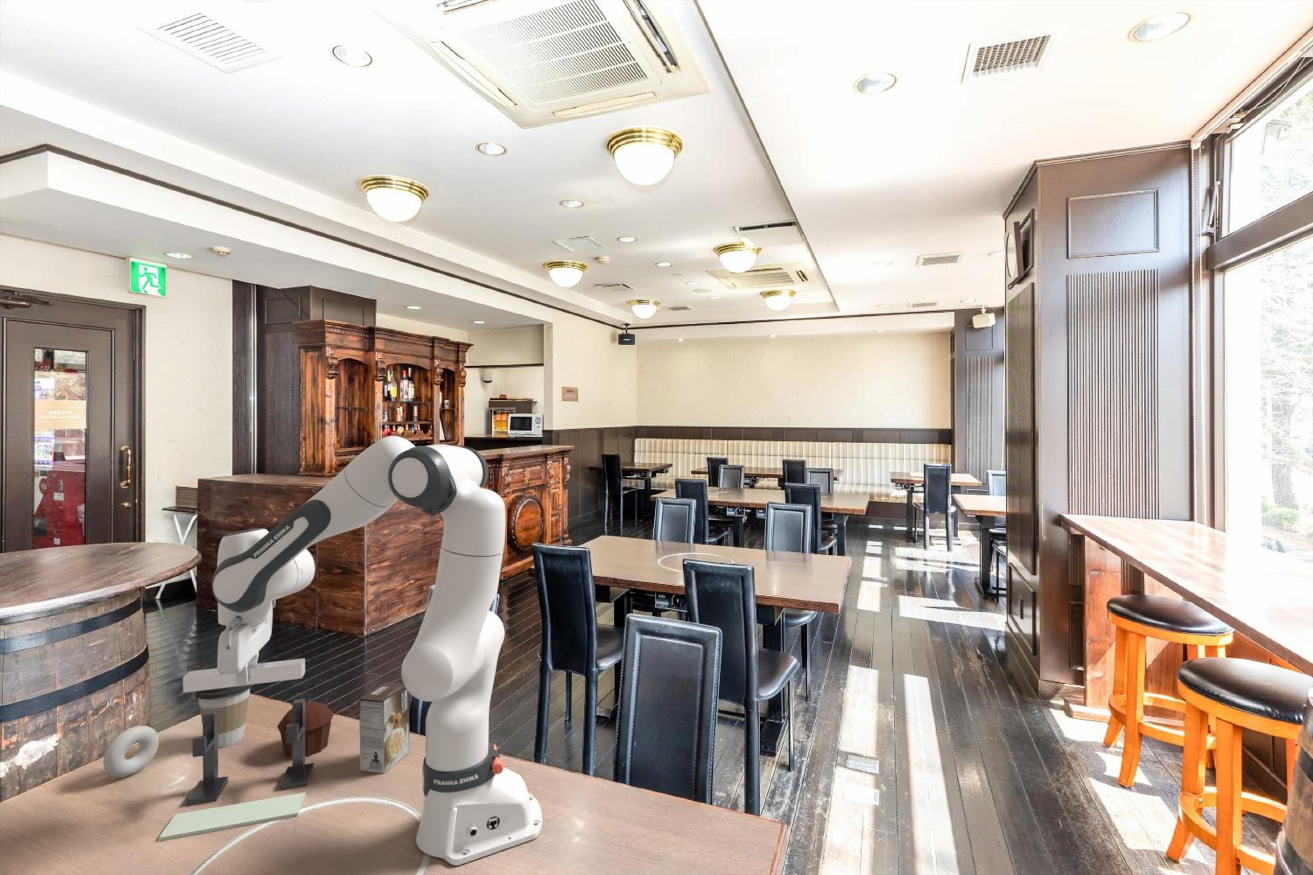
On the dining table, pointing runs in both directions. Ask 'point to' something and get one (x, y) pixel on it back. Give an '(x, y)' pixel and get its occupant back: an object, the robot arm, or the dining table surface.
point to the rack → (214, 786)
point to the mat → (233, 816)
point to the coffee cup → (227, 711)
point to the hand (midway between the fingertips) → (246, 679)
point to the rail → (256, 675)
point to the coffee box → (384, 727)
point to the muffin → (309, 728)
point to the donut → (117, 748)
